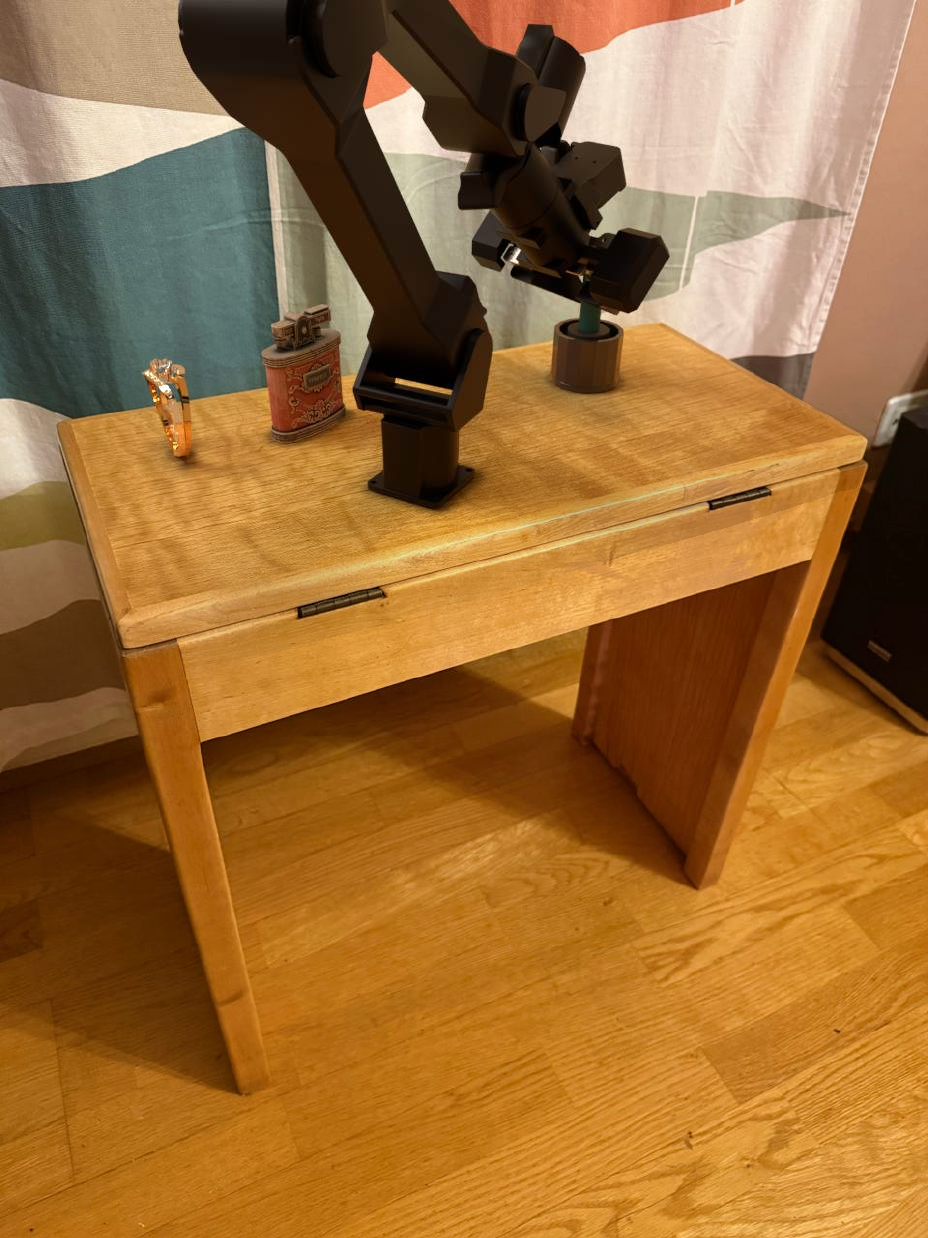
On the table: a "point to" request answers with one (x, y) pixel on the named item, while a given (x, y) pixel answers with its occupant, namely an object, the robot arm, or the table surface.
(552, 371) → the tumbler
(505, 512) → the table surface
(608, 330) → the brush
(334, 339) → the lighter
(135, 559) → the table surface
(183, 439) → the ring
